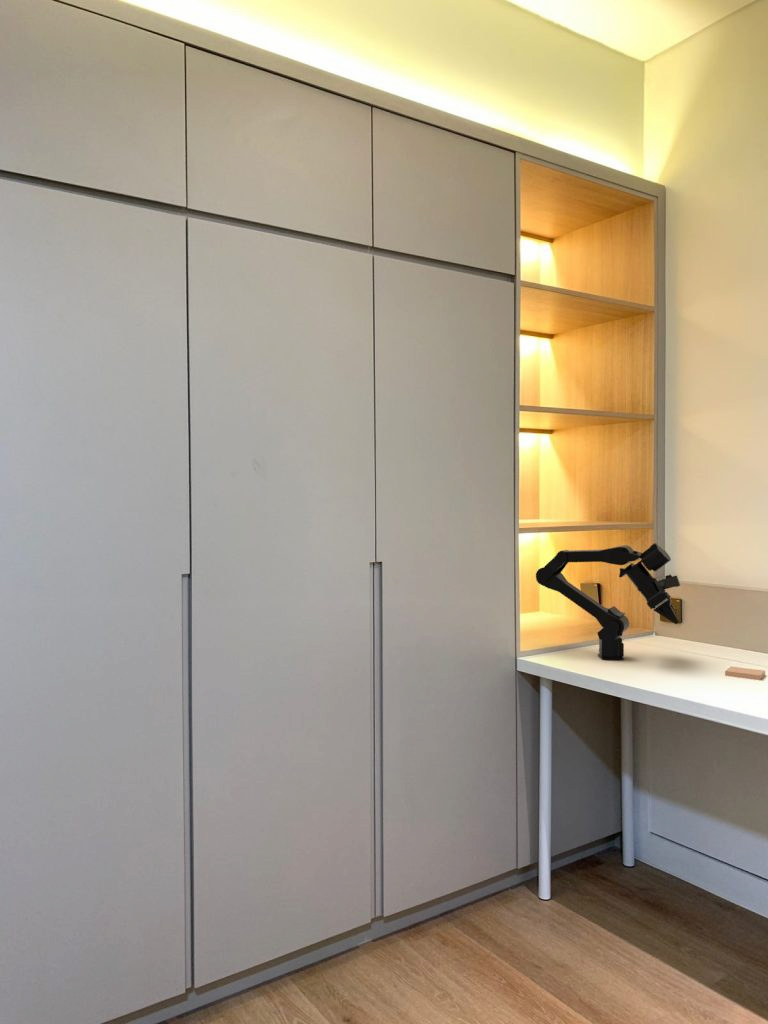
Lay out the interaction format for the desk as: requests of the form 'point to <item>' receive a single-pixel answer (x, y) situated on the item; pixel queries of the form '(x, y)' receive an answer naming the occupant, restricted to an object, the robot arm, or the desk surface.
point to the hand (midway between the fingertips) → (677, 623)
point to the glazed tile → (745, 673)
